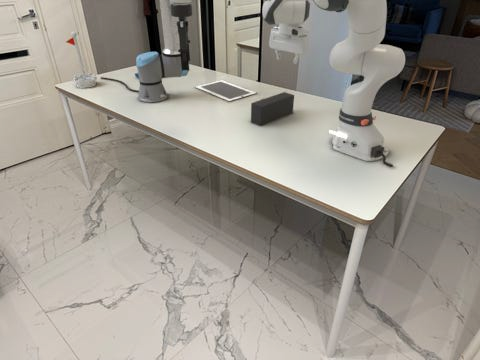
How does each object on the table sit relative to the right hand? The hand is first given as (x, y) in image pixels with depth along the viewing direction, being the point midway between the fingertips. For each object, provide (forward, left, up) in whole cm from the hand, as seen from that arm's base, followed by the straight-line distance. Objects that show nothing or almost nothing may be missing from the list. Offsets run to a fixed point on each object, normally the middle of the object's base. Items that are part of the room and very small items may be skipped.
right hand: (286, 61), depth 153 cm
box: (-1, +8, -25) cm, 26 cm away
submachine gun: (+101, +19, -25) cm, 106 cm away
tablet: (+45, +4, -25) cm, 52 cm away
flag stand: (+103, +66, -25) cm, 125 cm away
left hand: (+5, +48, +4) cm, 49 cm away
